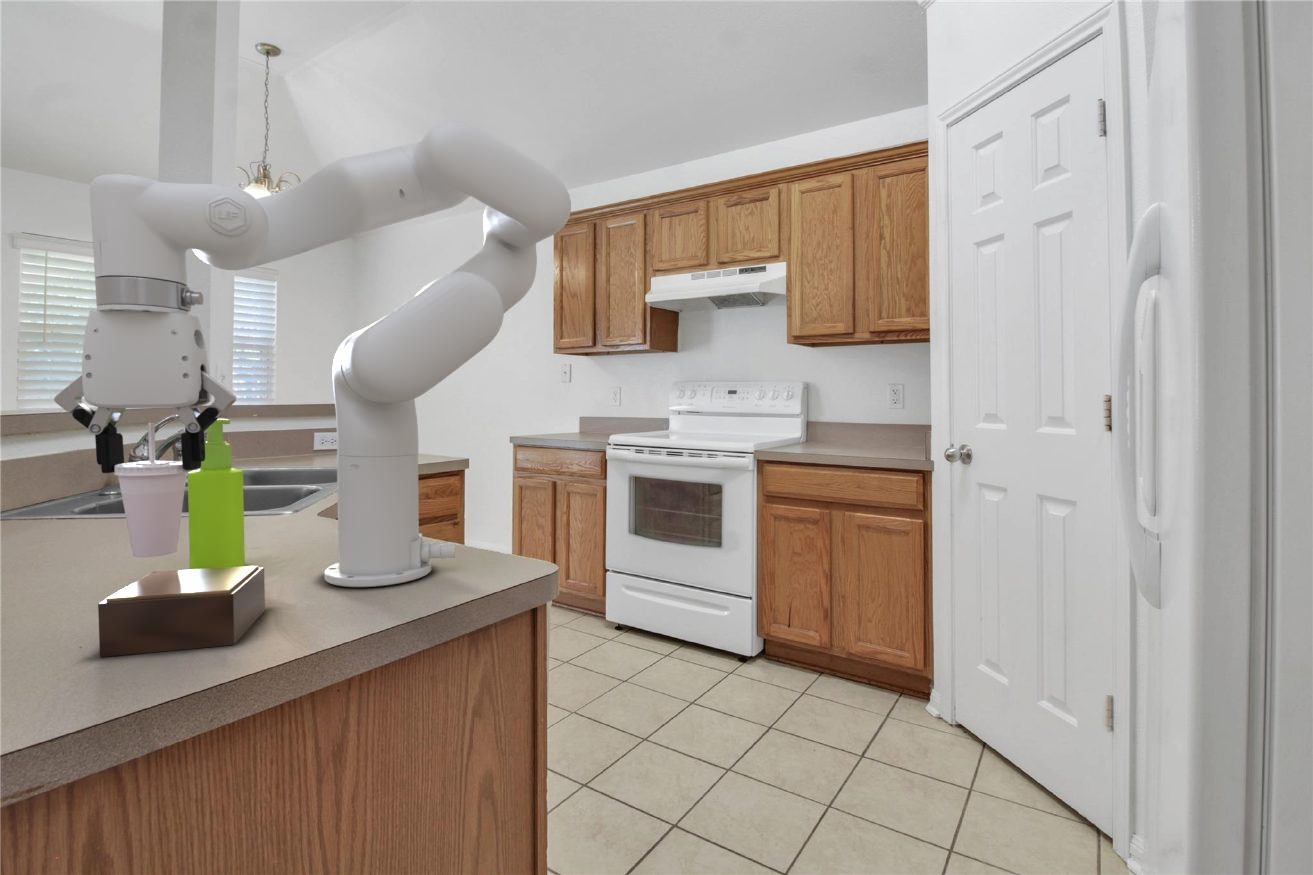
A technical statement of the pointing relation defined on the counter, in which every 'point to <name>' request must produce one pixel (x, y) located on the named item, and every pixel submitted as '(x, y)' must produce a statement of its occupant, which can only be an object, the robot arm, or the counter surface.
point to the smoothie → (152, 502)
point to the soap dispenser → (216, 506)
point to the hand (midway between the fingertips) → (153, 468)
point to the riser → (181, 610)
